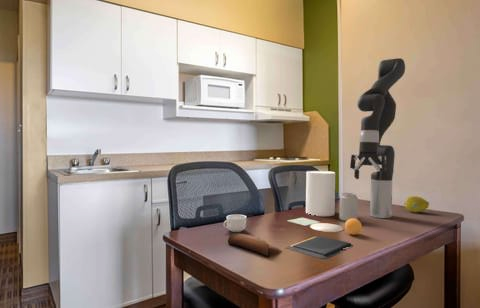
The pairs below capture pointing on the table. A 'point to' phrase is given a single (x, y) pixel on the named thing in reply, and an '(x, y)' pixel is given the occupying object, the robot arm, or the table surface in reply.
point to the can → (348, 206)
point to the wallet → (320, 247)
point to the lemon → (416, 204)
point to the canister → (320, 193)
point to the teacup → (235, 223)
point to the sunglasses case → (254, 244)
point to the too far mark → (303, 221)
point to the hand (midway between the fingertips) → (367, 179)
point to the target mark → (326, 227)
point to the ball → (353, 226)
